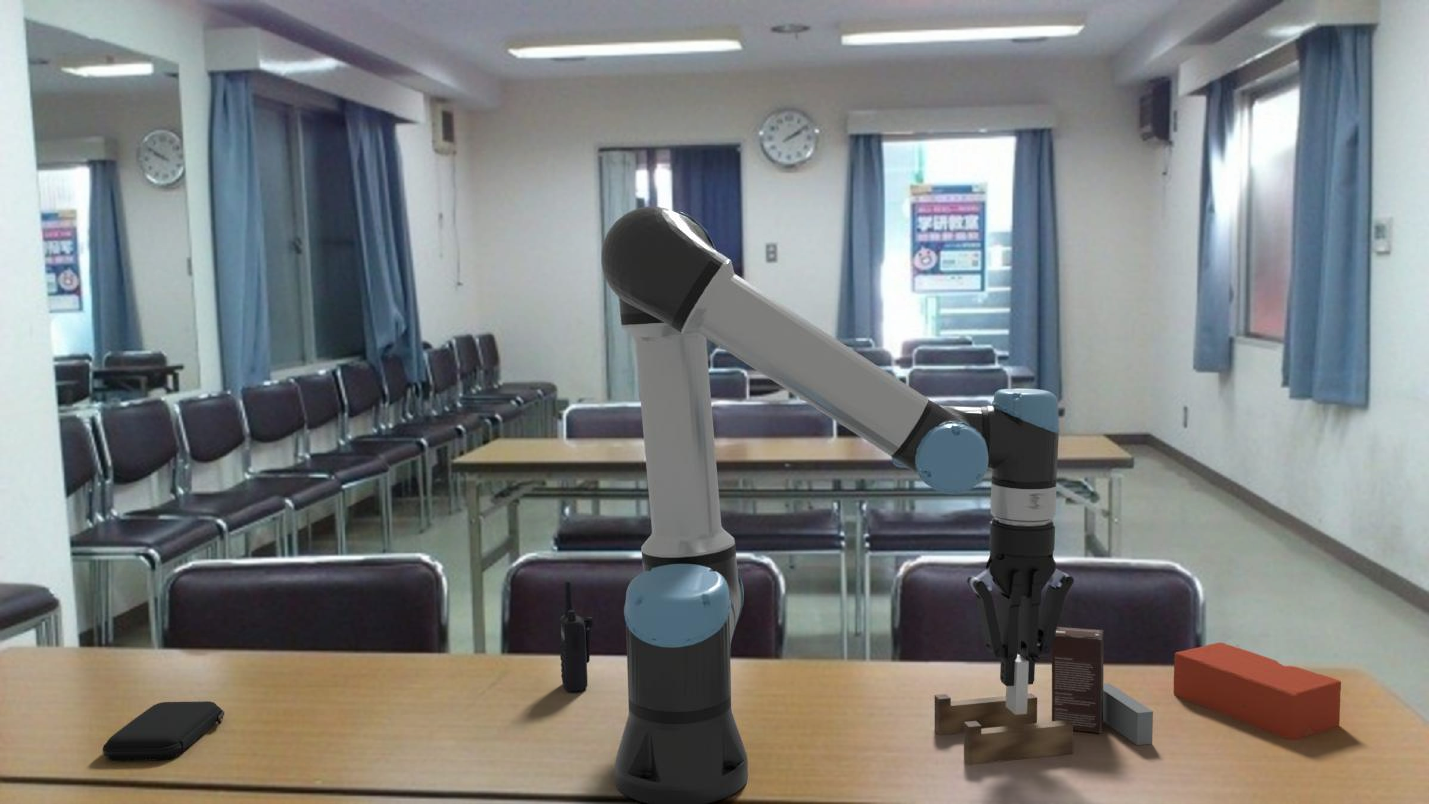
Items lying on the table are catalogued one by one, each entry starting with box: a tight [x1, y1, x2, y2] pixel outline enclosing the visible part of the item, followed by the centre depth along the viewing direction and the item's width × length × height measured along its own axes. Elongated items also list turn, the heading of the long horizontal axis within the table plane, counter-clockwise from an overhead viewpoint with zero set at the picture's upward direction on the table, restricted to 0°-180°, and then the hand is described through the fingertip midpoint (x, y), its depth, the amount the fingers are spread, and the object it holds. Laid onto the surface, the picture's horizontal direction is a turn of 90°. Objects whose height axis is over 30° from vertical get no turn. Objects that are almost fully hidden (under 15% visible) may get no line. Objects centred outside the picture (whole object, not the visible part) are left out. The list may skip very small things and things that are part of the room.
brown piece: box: [934, 693, 1074, 765], centre depth 142 cm, size 13×11×4 cm
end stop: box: [1103, 682, 1154, 746], centre depth 146 cm, size 2×10×4 cm, turn 11°
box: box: [1051, 626, 1105, 734], centre depth 147 cm, size 6×4×12 cm
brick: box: [1173, 642, 1342, 741], centre depth 151 cm, size 18×9×6 cm, turn 27°
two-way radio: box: [559, 579, 594, 692], centre depth 164 cm, size 6×4×15 cm
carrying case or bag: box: [102, 700, 225, 762], centre depth 149 cm, size 11×3×15 cm
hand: (1016, 709), depth 143 cm, fingers closed
